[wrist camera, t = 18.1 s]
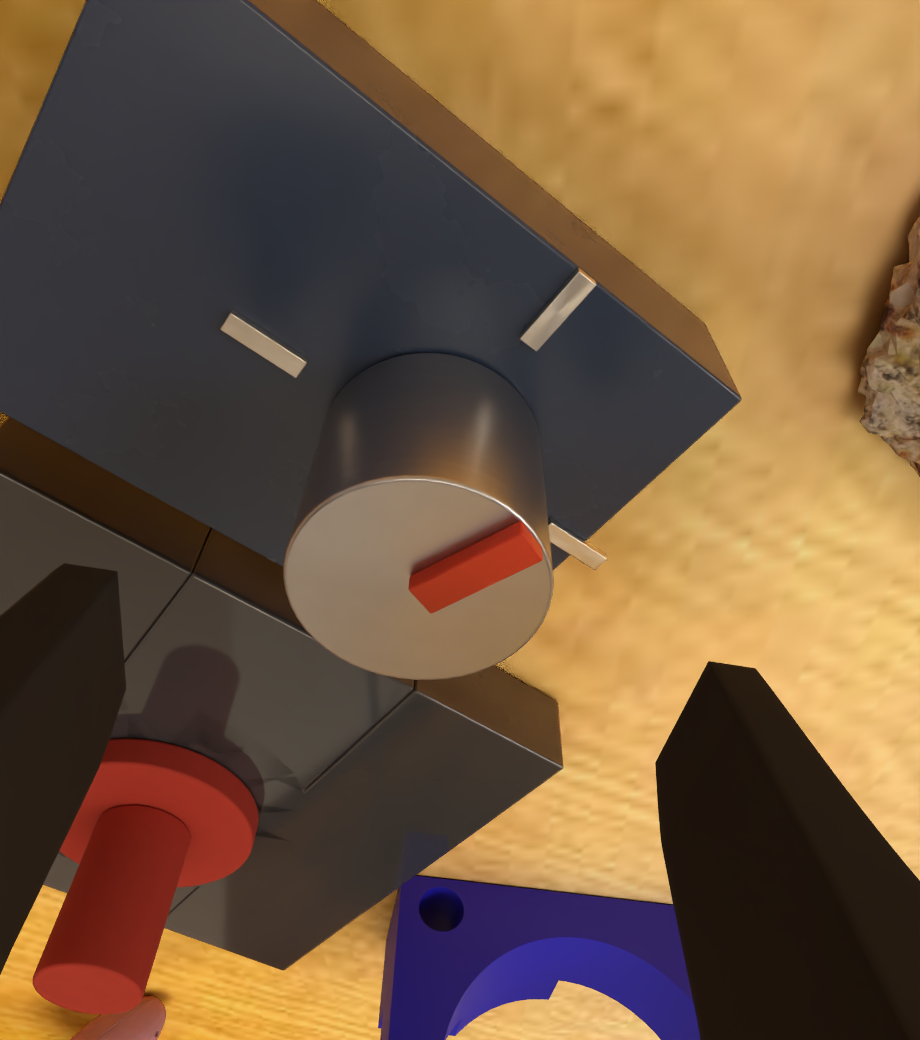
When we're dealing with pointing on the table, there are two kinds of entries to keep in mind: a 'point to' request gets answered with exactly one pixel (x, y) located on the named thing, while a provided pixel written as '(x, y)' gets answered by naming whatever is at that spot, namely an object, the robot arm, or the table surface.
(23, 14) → the table surface
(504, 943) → the blue semicircular bracket
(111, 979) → the stopper
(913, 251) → the mineral rock
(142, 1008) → the video game controller
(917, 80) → the table surface
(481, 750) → the dark marbled square slab
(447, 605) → the tap knob
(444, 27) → the table surface
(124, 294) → the rotary dial switch
